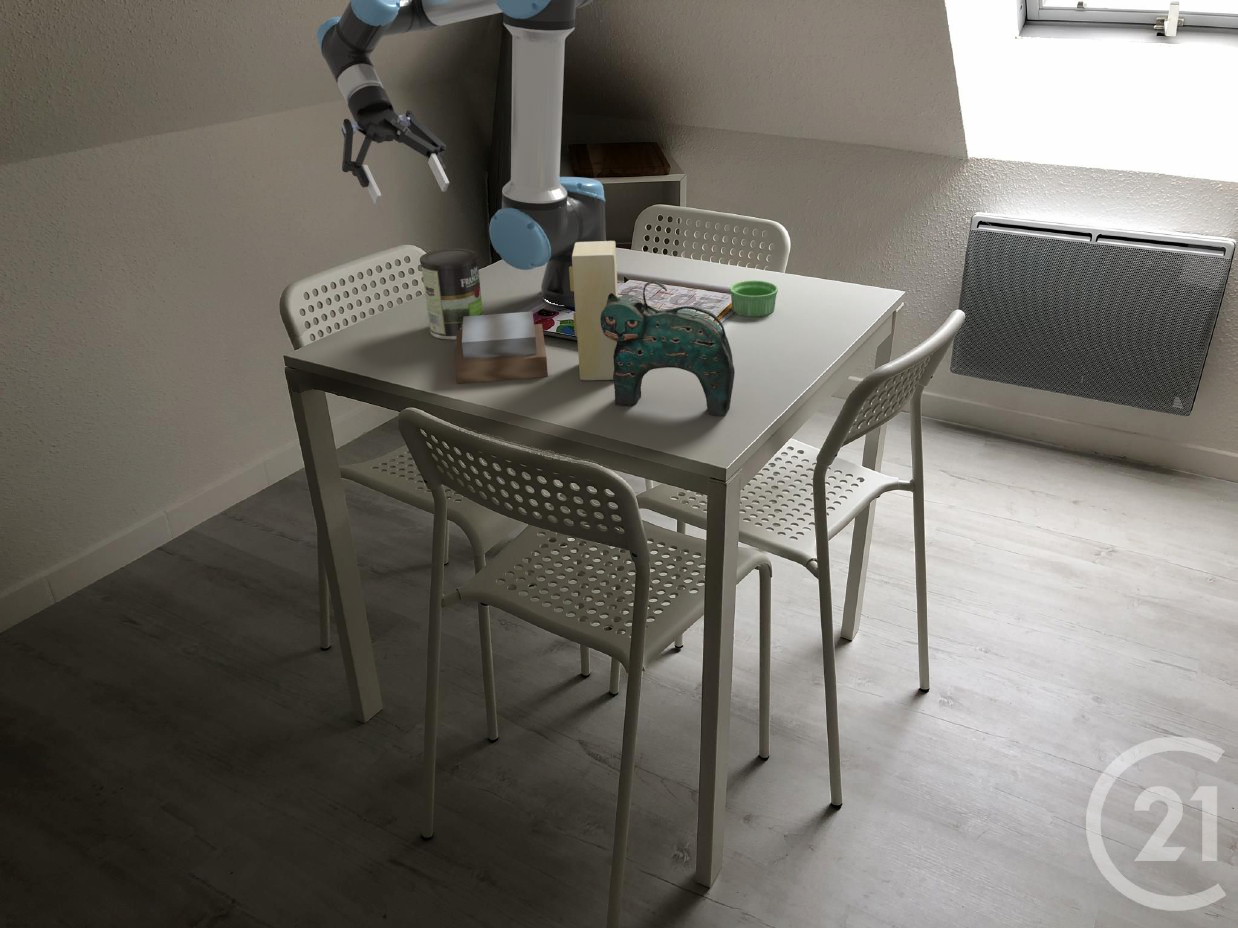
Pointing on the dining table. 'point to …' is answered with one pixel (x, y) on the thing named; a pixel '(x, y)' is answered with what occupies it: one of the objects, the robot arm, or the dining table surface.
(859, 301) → the dining table surface
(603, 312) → the ceramic cat
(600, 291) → the cream tall block
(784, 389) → the dining table surface
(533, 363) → the tower base
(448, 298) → the coffee can
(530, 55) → the robot arm
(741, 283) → the ramekin
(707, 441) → the dining table surface
